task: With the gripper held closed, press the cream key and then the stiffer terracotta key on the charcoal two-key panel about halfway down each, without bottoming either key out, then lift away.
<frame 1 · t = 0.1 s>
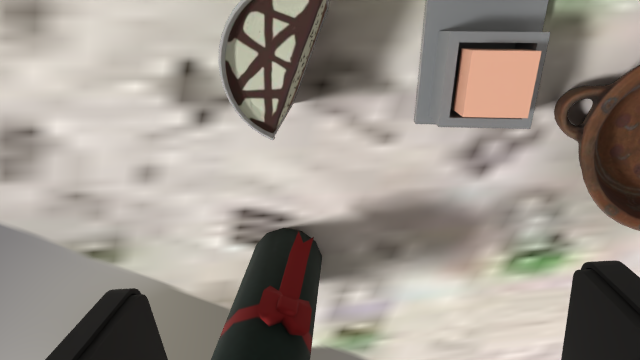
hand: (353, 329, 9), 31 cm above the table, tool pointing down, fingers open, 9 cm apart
grey arched window: (280, 44, 36), on the table
key panel: (483, 4, 34), on the table
key terracotta: (493, 82, 31), point 6 cm above the table, slide at 0.0 cm
wine bottle: (292, 249, 44), on the table
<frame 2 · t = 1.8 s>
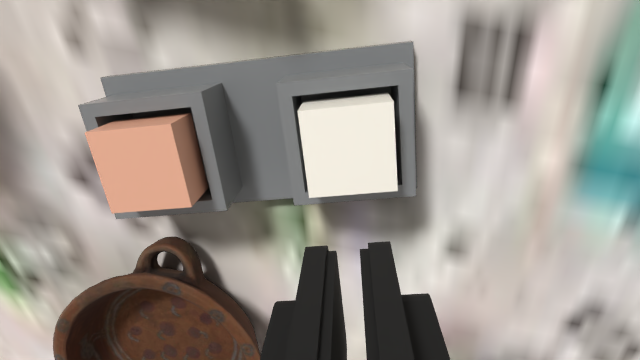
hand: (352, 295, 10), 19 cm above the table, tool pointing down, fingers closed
key panel: (265, 130, 28), on the table
key terracotta: (151, 162, 24), point 5 cm above the table, slide at 0.0 cm
dish: (182, 329, 36), on the table
key cream: (348, 144, 22), point 5 cm above the table, slide at 0.0 cm
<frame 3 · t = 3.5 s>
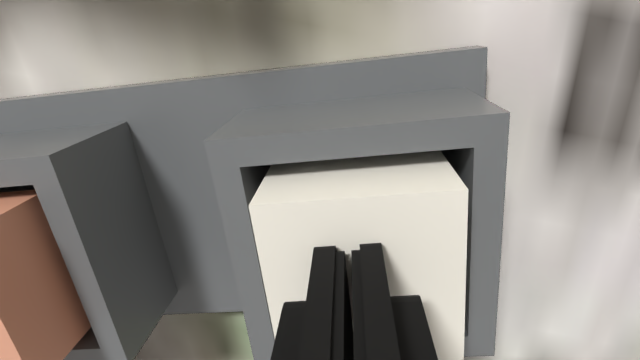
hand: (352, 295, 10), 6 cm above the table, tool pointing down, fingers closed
key panel: (215, 199, 16), on the table
key cream: (361, 255, 11), point 5 cm above the table, slide at 0.6 cm, touching gripper
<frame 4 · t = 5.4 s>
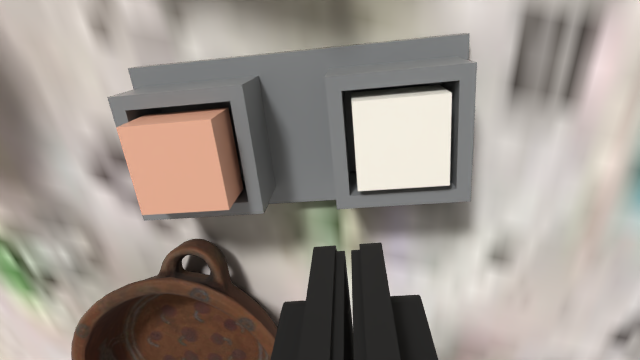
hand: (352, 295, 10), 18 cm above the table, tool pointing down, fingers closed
key panel: (302, 128, 26), on the table
key terracotta: (185, 160, 22), point 6 cm above the table, slide at 0.0 cm
dish: (204, 334, 34), on the table
key cream: (398, 137, 22), point 4 cm above the table, slide at 1.4 cm
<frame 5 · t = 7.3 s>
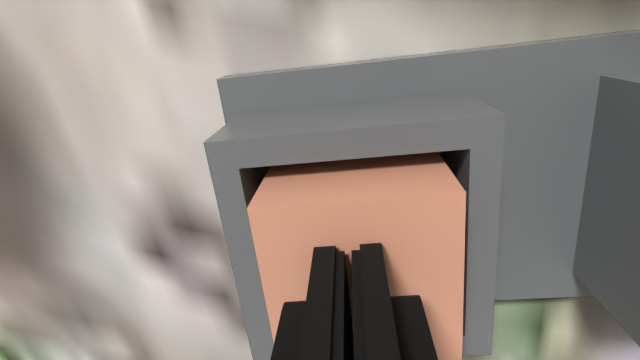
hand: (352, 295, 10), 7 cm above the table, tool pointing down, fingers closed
key panel: (510, 178, 15), on the table
key terracotta: (359, 257, 11), point 5 cm above the table, slide at 0.5 cm, touching gripper
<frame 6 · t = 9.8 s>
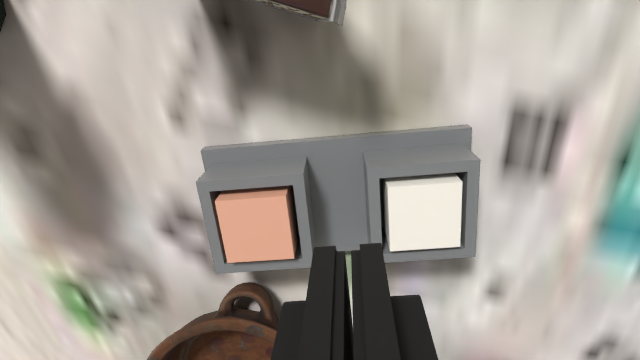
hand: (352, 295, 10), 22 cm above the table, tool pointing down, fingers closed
key panel: (338, 193, 33), on the table
key terracotta: (259, 221, 29), point 4 cm above the table, slide at 1.3 cm
key cream: (420, 208, 29), point 4 cm above the table, slide at 1.4 cm
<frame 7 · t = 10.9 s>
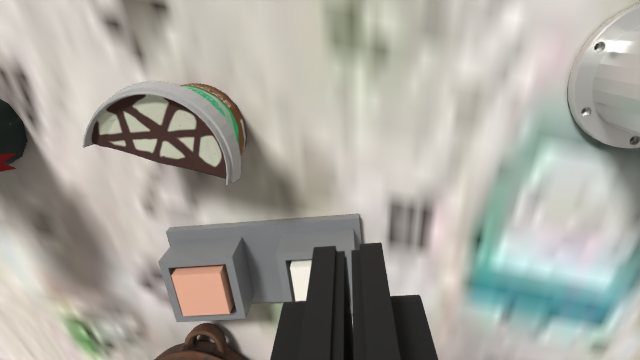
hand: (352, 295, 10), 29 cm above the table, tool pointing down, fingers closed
grey arched window: (205, 103, 38), on the table
key panel: (269, 260, 44), on the table
key terracotta: (205, 285, 41), point 4 cm above the table, slide at 1.3 cm
wine bottle: (2, 132, 40), on the table
key cream: (319, 278, 40), point 4 cm above the table, slide at 1.4 cm
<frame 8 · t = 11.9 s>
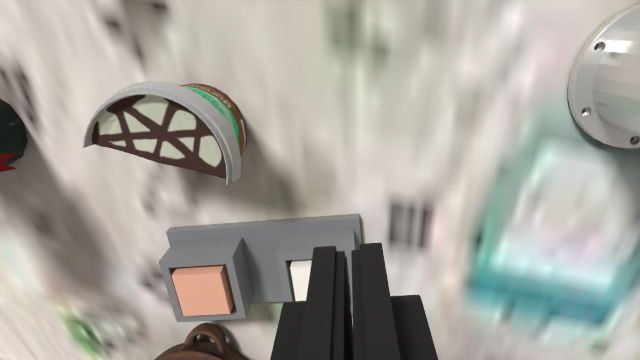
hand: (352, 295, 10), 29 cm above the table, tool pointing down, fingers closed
grey arched window: (205, 103, 38), on the table
key panel: (269, 260, 44), on the table
key terracotta: (206, 285, 41), point 4 cm above the table, slide at 1.3 cm
wine bottle: (2, 132, 40), on the table
key cream: (319, 278, 40), point 4 cm above the table, slide at 1.4 cm
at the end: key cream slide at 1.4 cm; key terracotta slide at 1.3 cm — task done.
